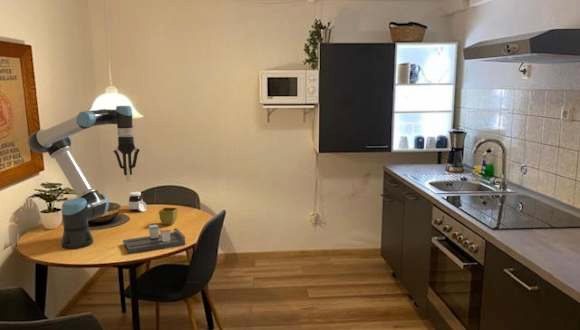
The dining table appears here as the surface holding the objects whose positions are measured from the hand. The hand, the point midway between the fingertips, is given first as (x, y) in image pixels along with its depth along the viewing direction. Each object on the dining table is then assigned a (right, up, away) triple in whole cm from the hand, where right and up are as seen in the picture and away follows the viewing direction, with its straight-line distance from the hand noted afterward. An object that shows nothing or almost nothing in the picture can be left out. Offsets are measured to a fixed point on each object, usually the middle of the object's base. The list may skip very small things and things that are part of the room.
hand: (128, 181), depth 242 cm
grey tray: (+14, -33, -1) cm, 36 cm away
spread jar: (-16, -22, +65) cm, 71 cm away
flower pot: (+12, -27, +36) cm, 46 cm away
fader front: (+20, -30, -2) cm, 36 cm away
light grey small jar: (+13, -30, +3) cm, 32 cm away
